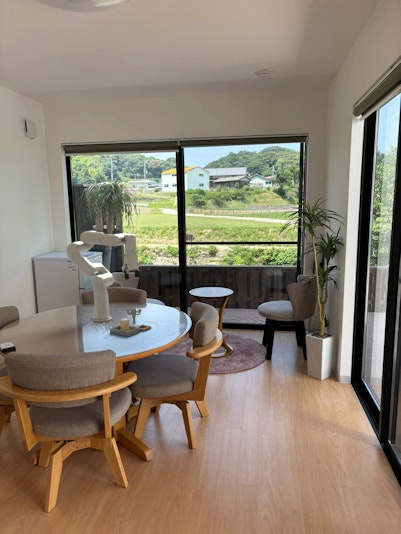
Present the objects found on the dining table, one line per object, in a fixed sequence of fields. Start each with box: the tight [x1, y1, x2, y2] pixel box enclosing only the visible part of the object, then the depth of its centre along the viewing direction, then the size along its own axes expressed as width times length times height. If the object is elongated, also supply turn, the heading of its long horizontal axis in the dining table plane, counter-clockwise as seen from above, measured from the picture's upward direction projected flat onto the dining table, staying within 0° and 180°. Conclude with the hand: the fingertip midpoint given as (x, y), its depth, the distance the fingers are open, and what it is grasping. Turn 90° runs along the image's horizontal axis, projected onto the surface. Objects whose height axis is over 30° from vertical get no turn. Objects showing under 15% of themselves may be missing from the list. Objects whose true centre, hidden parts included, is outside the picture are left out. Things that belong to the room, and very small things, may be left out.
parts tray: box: [109, 324, 141, 338], centre depth 250 cm, size 15×11×3 cm
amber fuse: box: [119, 317, 131, 332], centre depth 250 cm, size 4×4×8 cm
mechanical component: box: [125, 307, 142, 325], centre depth 270 cm, size 3×10×10 cm, turn 78°
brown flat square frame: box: [136, 324, 152, 333], centre depth 257 cm, size 8×8×2 cm
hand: (131, 278), depth 269 cm, fingers open, 9 cm apart
